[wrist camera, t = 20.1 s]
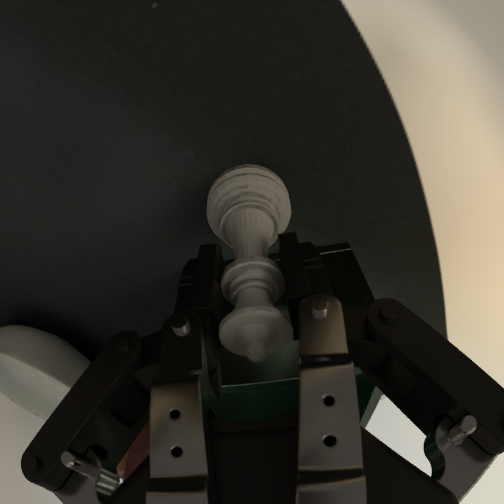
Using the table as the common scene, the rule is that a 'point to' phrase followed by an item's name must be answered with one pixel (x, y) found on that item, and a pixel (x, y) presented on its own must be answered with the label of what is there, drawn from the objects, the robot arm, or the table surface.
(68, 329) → the table surface
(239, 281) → the chess piece
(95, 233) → the table surface
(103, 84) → the table surface
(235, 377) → the dark green box
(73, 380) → the cereal bowl
